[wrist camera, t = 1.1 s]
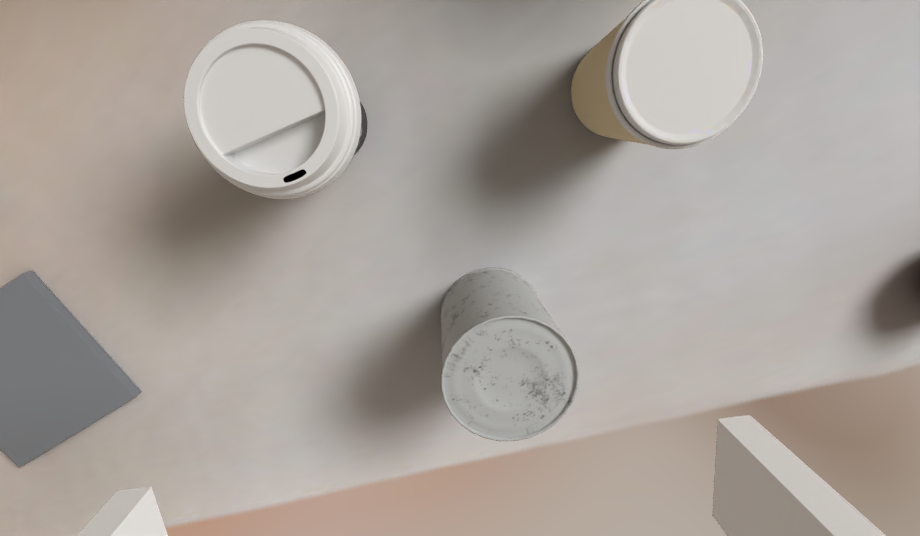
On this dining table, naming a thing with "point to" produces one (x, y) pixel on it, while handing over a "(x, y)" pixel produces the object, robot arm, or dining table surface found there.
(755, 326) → the dining table surface
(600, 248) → the dining table surface
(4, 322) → the coaster
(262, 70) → the coffee cup
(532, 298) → the grey concrete cylinder
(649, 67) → the coffee cup
